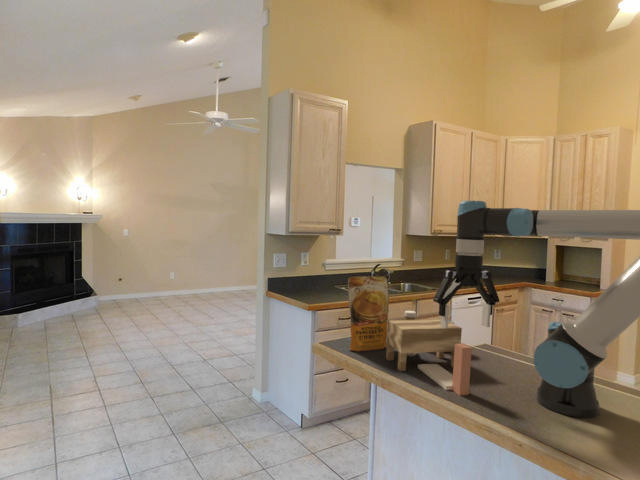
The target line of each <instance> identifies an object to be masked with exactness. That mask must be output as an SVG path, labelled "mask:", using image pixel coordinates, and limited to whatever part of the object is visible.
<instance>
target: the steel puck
mask: <svg viewBox="0 0 640 480" xmlns="http://www.w3.org/2000/svg"><path fill="white" fill-rule="evenodd" d="M417 354H418V353H407V355H406V357H407V358H408V357H410V358H411V357H416V356H417Z"/></svg>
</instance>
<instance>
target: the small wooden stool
mask: <svg viewBox="0 0 640 480" xmlns="http://www.w3.org/2000/svg"><path fill="white" fill-rule="evenodd" d="M462 329H463V328H462V327H460V326H458V325H456V324H455V323H454V324H452V323H450V322H448V328H444V327H442V326H441V318H439V319H438V318H436V319H435V318H434V319H415V320H405V319H391V320H390V319H388V324H387V338H386V345H387V347H386V351H385V352H386V353H385V358H386V360H387V361H394V357H395V350H396V351H397V352H398V354H397V357H398V358H397V370H398V371H399V372H406V369H407V356H406V355H407V353H417V354H419V353H436V356H435V357H436V358H438V359H445V353H449V351H450V352H451V359H450V367H451V368H453V366H454V350H455V344H462V333H463V331H462Z"/></svg>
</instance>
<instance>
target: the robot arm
mask: <svg viewBox="0 0 640 480" xmlns="http://www.w3.org/2000/svg"><path fill="white" fill-rule="evenodd" d="M456 219H457V222H456V246H455V252H456V253H457V254H456V255H455V257H454V259H455V260H454V266H455V267H454V268H455V270H454V271H453V270H449V269H446V270H445V271H444V274H443V275H444V276H443V278H442V281H441V283H440V285H439V287H438V289H437V291H436V293H435V294H434V297H433V302H435V303H437V304H438V305H439V306H438V315H439V316H440V319H441V326H442V327H444V328H448V320H449V315H450V305H447V304H448V303H449V302H450V301H451V300H452V298H453V297H454V296H455V295H456V293H457V292H458V291H459V290H460V289H462V288H463V287H473V288H475V289H476V291H477V292H478V293H479V295H480V296H481V298H482V299H483V300H484V302H485V303H482V311H481V326H484V327H486V328H490V326H491V325H490V324H491V316H492V315H493V311H494V310H493V308H494V306H496V303H500V298H499V295H498V293H497V289H496V286H495V284H494V282H493V279H492V272H491V271H489V270H484V269H483V271H482V268H483V264H484V262H483V261H484V257H483V254H484V247H485V235H489V236H490V235H493V236H506V237H507V236H508V237H510V236H511V237H515V238H516V237H518V238H519V237H559V238H560V237H562V238H581V239H582V238H585V239H607V240H609V239H613V240H614V239H615V240H637V241H638V240H640V209H576V210H575V209H561V210H560V209H549V210H548V209H542V210H541V209H539V210H538V209H529V208H523V207H522V208H521V207H515V208H514V207H510V208H508V207H507V208H506V207H503V208H501V207H500V208H499V207H496V208H493V207H488V206H487V203H486V202H485V201H483V200H461V201H460V203H459V204H458V209H457V216H456ZM454 278H455V279H454ZM453 279H454V280H453ZM481 279H483V282H484V284H483V283H482V281H481ZM639 318H640V255H639V256H638V257H637V258H635V260H634V261H633V262H632V263H631V264H630V265H629V266H628V267H627V268H626V269H625V270H624V271H623V272H622V273H621V274H620V275H619V276H618V277H617V278H616V279H615V280H614V281H613V282H612V283H611V284H610V285H609V286H608V287H607V288H606V289H605V290H603V292H602V293H601V294H600V295H598V297H597V298H596V299H595V300H594V301H593V302H592V303H590V304H589V305H588V306H587V308H585V310H583V311H582V313H580V314H579V316H578V317H576V318H575V320H572V321H551V322H550V323H549V324H548V328H547V332H548V333H547V338H546V339H545V340H543V341H542V342H541V343H539V345H538V344H537V345H538V346H536V348H535V350H534V355H533V364H534V367H535V370H536V373H538V375H539V376H540V378H542V379H541V382H540V384H539V386H538V388H537V389H536V396H535V397H536V401H537V403H539V404H540V405H541V406H543V407H545V408H547V409H549V410H551V411H553V412H555V413H559V414H561V415H566V416H568V417H569V416H570V417H577V418H594V417H596V416H598V415H599V413H600V402H599V401H598V398H597V394H596V393H597V392H596V389H595V385H594V383H595V382H594V381H595V380H594V378H595V368H596V367H597V366H598V365H600V364H601V363H602V362H603V361H604V360H605V359H606V358H608V353H607V352H608V351H607V347H608V346H609V345H610V344H611V343H612V342H614V341H615V340H617V338H618V337H619V336H620V335H622V333H623V332H625V331H626V330H627V329H628V328H629V327H630V326H631V325H632V324H633V323H635V322H636V321H637V320H638V319H639Z"/></svg>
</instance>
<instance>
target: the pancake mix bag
mask: <svg viewBox="0 0 640 480" xmlns="http://www.w3.org/2000/svg"><path fill="white" fill-rule="evenodd" d="M347 291H348V308H349V314H350V315H349V316H350V326H349V327H350V328H349V329H350V343H349V344H350V345H349V348H348V349H349V351H353V352H369V351H379V350H380V351H381V350H384V349H385V348H387V331H388V320H389V308H390V307H389V306H390V298H389V297H390V296H389V295H390V294H389V281H388V278H386V276H384V275H374V276H372V275H371V276H370V275H358V276H357V275H355V276H354V275H353V276H350V277H348V278H347Z"/></svg>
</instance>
